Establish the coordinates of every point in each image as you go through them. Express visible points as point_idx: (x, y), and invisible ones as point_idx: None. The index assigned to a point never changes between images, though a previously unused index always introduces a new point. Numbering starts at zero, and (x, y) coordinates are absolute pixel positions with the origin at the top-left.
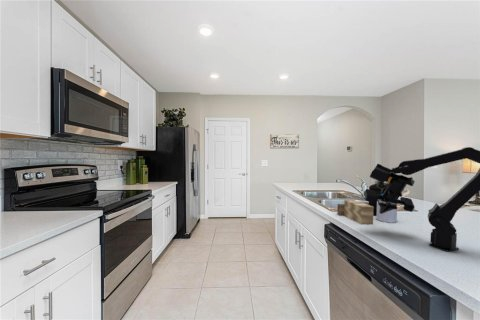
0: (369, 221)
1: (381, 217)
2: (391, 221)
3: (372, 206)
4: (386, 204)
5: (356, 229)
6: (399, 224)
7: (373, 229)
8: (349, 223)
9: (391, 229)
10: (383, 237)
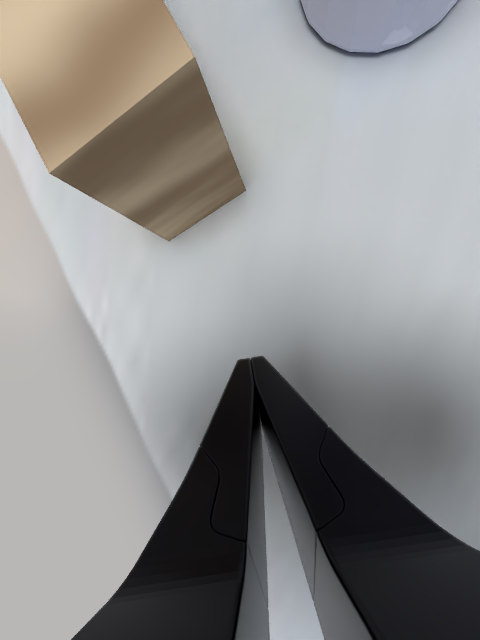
0: (213, 197)
1: (333, 7)
2: (416, 33)
3: (180, 54)
4: (324, 585)
5: (129, 391)
6: (476, 57)
7: (230, 341)
8: (96, 263)
9: (360, 277)
10: (265, 502)
